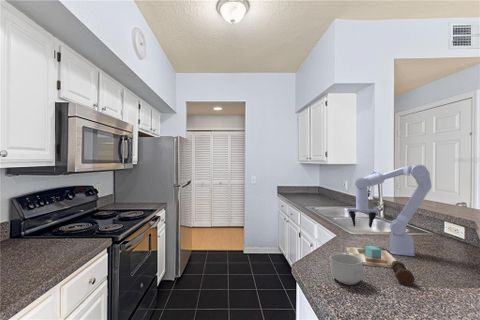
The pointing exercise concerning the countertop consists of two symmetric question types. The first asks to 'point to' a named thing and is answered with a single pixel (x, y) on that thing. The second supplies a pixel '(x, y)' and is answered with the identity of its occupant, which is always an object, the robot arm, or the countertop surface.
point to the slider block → (372, 252)
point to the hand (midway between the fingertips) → (362, 226)
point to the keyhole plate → (383, 262)
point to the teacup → (346, 268)
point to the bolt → (402, 273)
